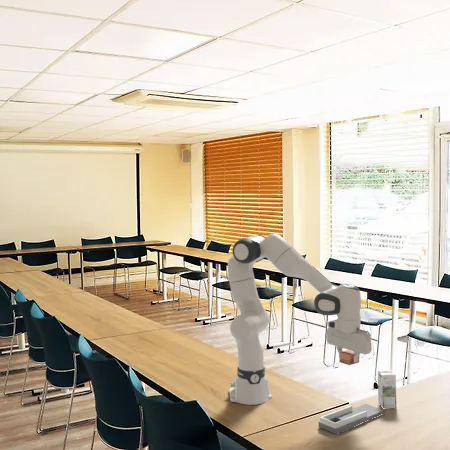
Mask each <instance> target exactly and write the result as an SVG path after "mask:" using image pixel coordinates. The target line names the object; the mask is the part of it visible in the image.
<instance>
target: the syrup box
mask: <svg viewBox="0 0 450 450" xmlns="http://www.w3.org/2000/svg"><path fill="white" fill-rule="evenodd" d="M396 376H397V375H396V374H395V372H393V370H378V371H377V386H378V387H377V390H378V405H379V404H380V405H381V406H382V407H383V408H396V409H397V377H396ZM380 405H379V406H380Z"/></svg>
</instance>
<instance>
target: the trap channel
mask: <svg viewBox="0 0 450 450" xmlns="http://www.w3.org/2000/svg"><path fill="white" fill-rule="evenodd" d="M381 414H384V415H385V409H384V410H383V409H382V408H378V407H376V406H373V405H370V404H367V403H364V404H362V405H360V406H356V407H354V408H353V405H349V406H345V407H344V408H340V409H338V410H336V411H332V412H330V413H328V414H325V415H322V416H320V417H319V421H318V428H320V429H322V430H325V431H327V432H328V433H329V432H330V433H331V432H332V434H334V433H335V434H334V435H336V434H338V433H340V432H342V433H344V432H343V431H345V430H347V429H350V428H352V427H354V426H356V425H358V424H360V423H362V422H365V421H367V420H370V419H372V418H374V417H377V416H379V415H381ZM354 428H355V427H354ZM352 429H353V428H352ZM350 430H351V429H350ZM347 431H348V430H347ZM345 432H346V431H345ZM340 434H341V433H340ZM338 435H339V434H338Z"/></svg>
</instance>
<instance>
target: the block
mask: <svg viewBox="0 0 450 450" xmlns="http://www.w3.org/2000/svg"><path fill="white" fill-rule="evenodd" d="M354 356H355V354H354V351H351V350H348V349H345V350H342V352H340V358H339V361H338V362H339V363H341V364H344V365H348V366H351V365H355V364H359V363H360V356H359V357H358V361H357V362H356V363H355V362H352V357H354Z"/></svg>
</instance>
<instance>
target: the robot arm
mask: <svg viewBox="0 0 450 450" xmlns="http://www.w3.org/2000/svg"><path fill="white" fill-rule="evenodd" d="M264 259H267V260H268V261H269V262H271V264H273V266H274V267H275V268H277V270H278V271H279V272H281V273H282V274H283V275H285V276H286V277H292V278H299V279H302V280H303V281H306V282H307V283H309V284H310V285H311V286H312V287H313V288H314V289H315V290H316V291H317V292H318V294H317V295H316V296H315V298H314V301H313V305H314V308H315V310H316V311H317V313H318V314H320V315H322V316H335V315H336V316H337V319H334V320H330V321H327V329H326V342H327V344H328V345H331V346H335V347H336V350H337V352H338V358H339V359H340V352H342V351H343V349H345V350H351V351H354V354H355V356H354V357H352V362H355V363H356V362H357V361H358V357H359V358H360V355H361V354H362V355H369V354H371V353H372V349H373V348H372V339H371V337H372V334H371V333H370V331H369V330H368V329H364V328H361V321H362V320H361V315H360V314H361V313H360V312H361V309H362V300H361V299H362V298H361V290H360V289H359V287H358V286H356V285H354V284H351V283H341V284H340V285H336V284H334V283H332V282H331V281H330V280H329V279H328V278H327V277H325V276H324V274H322V273H321V272H320V271H319V270H318V269H317V268H316V267H315V266H314V265H312V264H311V263H310V262H309V261H308V260H307V259H306V258H305V257H304V256H303V255H302V254H301V253H300V252H299V251H298V250H297V249H296V248H295V247H294V246H293V245H292V244H291V243H290V242H289V241H288V240H286V239H285V238H284V237H282V236H281V235H280V234H278V233H270V234H269V235H267V236H265V235H261V234H256V235H249V236H247V237H245V238H244V237H243V238H241V239H239V240H237V241H236V242H235V243H234V245H233V247H232V256H231V257H230V258H229V259H228V260H227V274H228V281H229V286H230V291H231V292H230V293H231V297H232V300H233V302H234V303H236V305H237V308H238V309H239V310H240V314H238V315H237V316H235V317H234V319H232V321H231V323H230V326H229V330H230V331H229V332H230V334H231V336H233V338H234V339H235V343H236V347H237V359H238V362H237V363H238V365H237V366H238V367H237V370H236V377H234V379H233V381H231V382H230V387H229V389H228V392H229V401H230V402H232V403H233V402H234V403H239V404H241V405H246V406H247V405H248V406H252V405H256V406H257V405H261V404H264V403H266V402H267V401H269V400H270V399H272V398H273V394H271V393H270V388H269V379H268V378H267V377H266V368H265V366H264V365H265V364H264V363H265V361H264V349H263V347H262V346H261V343H260V337H259V336H260V333H262V332H264V331H265V330H266V329H267V327H269V324H270V320H271V318H270V314H269V313H268V311H267V310H266V309H265V308H264V306H263V303H262V302H261V299H260V297H259V296H260V295H259V293H258V289H257V285H256V284H257V283H256V278H255V274H254V269H253V267H254V264H255V263H259V262H260V261H263V260H264ZM356 364H357V363H356Z"/></svg>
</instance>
